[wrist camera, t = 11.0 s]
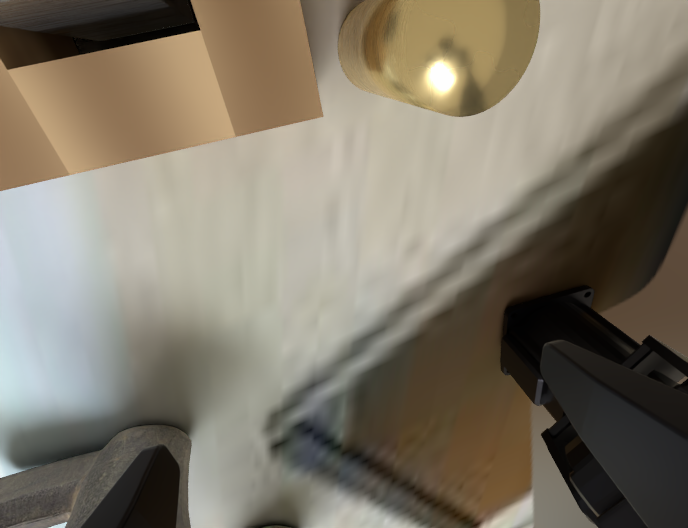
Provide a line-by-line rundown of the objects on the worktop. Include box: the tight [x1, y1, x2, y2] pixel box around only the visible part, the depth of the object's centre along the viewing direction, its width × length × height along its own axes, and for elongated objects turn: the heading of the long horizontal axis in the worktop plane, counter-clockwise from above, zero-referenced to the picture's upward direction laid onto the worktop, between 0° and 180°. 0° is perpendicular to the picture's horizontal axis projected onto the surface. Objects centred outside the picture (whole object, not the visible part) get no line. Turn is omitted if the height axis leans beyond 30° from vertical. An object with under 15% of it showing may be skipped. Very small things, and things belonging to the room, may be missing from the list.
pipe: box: [0, 425, 192, 528], centre depth 21 cm, size 6×13×8 cm, turn 96°
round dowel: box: [338, 0, 540, 117], centre depth 12 cm, size 4×4×8 cm
